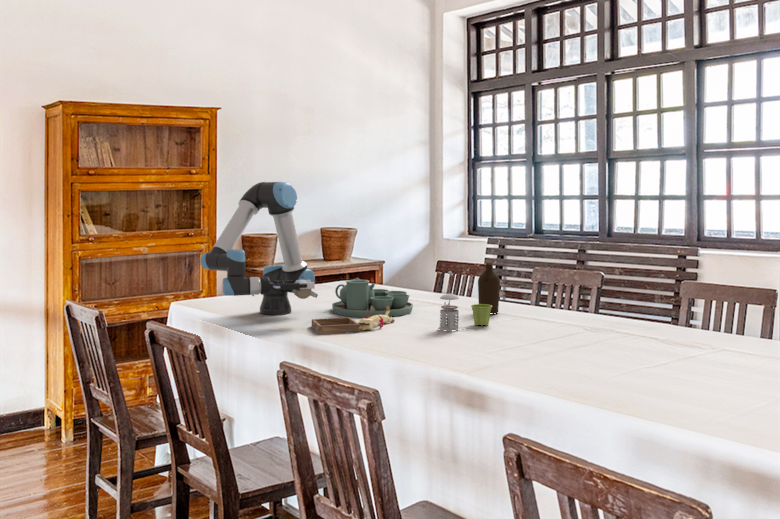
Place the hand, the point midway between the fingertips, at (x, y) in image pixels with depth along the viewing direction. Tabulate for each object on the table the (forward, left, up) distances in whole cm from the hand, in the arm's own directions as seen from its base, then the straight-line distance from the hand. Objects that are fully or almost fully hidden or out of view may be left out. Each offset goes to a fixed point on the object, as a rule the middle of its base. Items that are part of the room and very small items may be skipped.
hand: (312, 284), depth 300 cm
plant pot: (+21, +71, -18) cm, 76 cm away
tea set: (-29, +36, -18) cm, 49 cm away
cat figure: (+11, +26, -18) cm, 34 cm away
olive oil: (-7, +88, -18) cm, 90 cm away
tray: (+13, +7, -18) cm, 23 cm away
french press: (+27, +53, -18) cm, 62 cm away
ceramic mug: (-1, -3, -6) cm, 7 cm away
